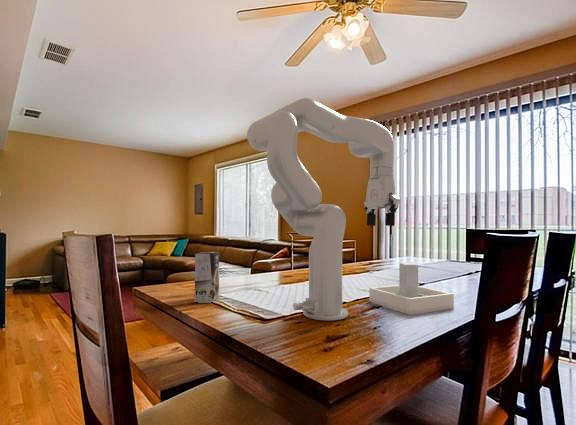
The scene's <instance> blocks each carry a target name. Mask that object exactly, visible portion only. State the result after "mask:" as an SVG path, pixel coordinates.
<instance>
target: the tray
mask: <svg viewBox="0 0 576 425" xmlns="http://www.w3.org/2000/svg"><path fill="white" fill-rule="evenodd" d="M368 292H369V296H368V297H369V300H368V301H369V302H370V303H373V304H376V305H379V306H381V307H385V308H387V309H391V310H394V311H397V312H399V313H403V314H406V315H409V316H414V315H419V314H426V313H427V314H428V313H431V312H440V311H445V310H453V309H454V308H455V306H454V305H455V302H454V298H455V297H454V295H455V294H454V293H452V292H447V291H443V290H438V289H434V288H429V287H424V286H421V285H418V297H415V298H407V297H404V296H400V295H399V284H396V285H395V284H394V285H386V286H376V287H375V286H374V287H369V290H368Z"/></svg>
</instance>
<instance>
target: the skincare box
mask: <svg viewBox="0 0 576 425" xmlns="http://www.w3.org/2000/svg"><path fill="white" fill-rule="evenodd" d="M398 267H399V270H398V271H399V276H398V277H399V278H398V280H399V284H398V285H399V295H400V296H404V297H407V298H415V297H418V286H419V265H418V264H415V263H413V262H399V266H398Z"/></svg>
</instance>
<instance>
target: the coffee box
mask: <svg viewBox="0 0 576 425" xmlns="http://www.w3.org/2000/svg"><path fill="white" fill-rule="evenodd" d="M194 254H195V255H194V256H195V259H194V265H195V266H194V270H195V271H194V301H193V303H195V302H198V304H202V303H203V304H212V303H211V302H213V303H215V301H216V300H217V299H218V298H220V251H200V252H197V253H194ZM217 297H218V298H217ZM216 298H217V299H216ZM215 299H216V300H215ZM214 300H215V301H214Z"/></svg>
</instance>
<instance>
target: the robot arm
mask: <svg viewBox="0 0 576 425" xmlns="http://www.w3.org/2000/svg"><path fill="white" fill-rule="evenodd" d="M301 132H307V133H309V134H311V135H313V136H315V137H318V138H320V139H322V140H324V141H326V142H328V143H329V142H330V143H333V144H348V150H349V153H351V155H353V156H354V157H357V158H365V159H367V158H368V159H369V161H370V162H369V179H368V182H367V187H366V194H365V195H366V196H365V200H364V201H363V205H364V210H365V213H366V225H367V226H371V227H375V226H376V224H377V223H376V222H377V221H376V220H377V219H376V218H377V217H376V216H377V215H376V211H377V210H378V209H385V211H386V213H385V220H384V221H385V223H384V224H385V226H389V227H390V226H391V227H394V226H395V219H396V215H395V214H396V213H397V210H398V209H399V204H400V202H401V199H400V197H397V195H396V187H395V178H394V153H395V152H394V149H395V148H394V147H395V142H394V138H393V135H392V134H391V132H390V131H389V129H388V128H387V127H385V126H383V124H380V123H378V122H376V121H374V120H371V119H369V118H363V117H357V116H356V117H355V116H350V115H343V114H341V113H339V112H337V111H335V110H333V109H332V108H330V107H328V106H326V105H324V104H322V103H320V102H319V101H317V100H315V99H313V98H310V97H304V98H300V99H296V101H295V100H294V102H290V103H289V104H287V105H285V106H283V107H281V108H279V109H278V110H276V111H274V112H272V113H270V114H268V115H266V116H264V117H262V118H260V119H257V120H256V121H254V122H252V123H250V125H249V127H248V129H247V132H246V138H247V142H248V144H249V146H251V148H252V149H254V150H256V151H258V152H266V151H267V152H266V163H267V168H268V171H269V173H270V175H271V177H272V179H273V180H274V181H275V183H274V185H273V186H272V188H271V195H270V197H271V202H272V205H273V206H274V208H275V210H276V211H277V212H278V213H279V215H281V217H282V218H283V219H284V220H285V222H286V223H287V224H288V225H289V226H290V227H291V229H292V230H293V231H294V232H296V233H297V234H298V235H300V236H303V237H313V239H312V241H311V243H310V245H309V251H308V297H307V298H305V300H304V301H303V302H296V303H295V302H294V303H293V305H292V308H293V311H302V312H303V315H304V316H305V317H306V318H308V319H312V320H316V321H317V320H318V321H339V320H343V319H346V318H347V317H348V315H349V312H348V310H347V309H345V308H344V307H343V245H344V244H343V243H344V235H345V232H346V225H347V217H346V213H345V211H343V209H342V208H341V207H340V206H339V205H336V204H332V203H322V200H323V199H322V198H323V194H322V190H321V188H320V186H319V185H318V183H317V182H316V181H315V179H314V178H313V177H312V175H311V174H310V173H309V171H308V170H307V168H306V166H304V164H303V163H302V161H301V160H300V158H299V156H298V152H297V150H298V149H297V142H298V141H297V140H298V135H299V133H301Z"/></svg>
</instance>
